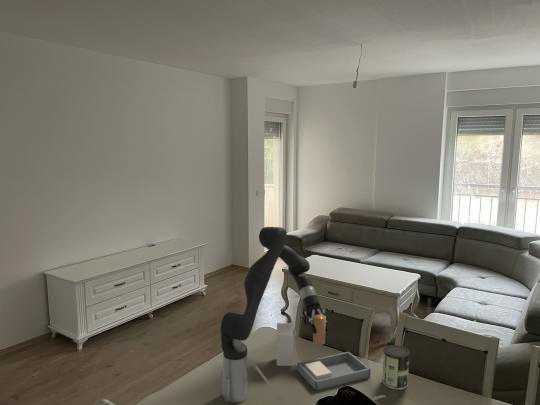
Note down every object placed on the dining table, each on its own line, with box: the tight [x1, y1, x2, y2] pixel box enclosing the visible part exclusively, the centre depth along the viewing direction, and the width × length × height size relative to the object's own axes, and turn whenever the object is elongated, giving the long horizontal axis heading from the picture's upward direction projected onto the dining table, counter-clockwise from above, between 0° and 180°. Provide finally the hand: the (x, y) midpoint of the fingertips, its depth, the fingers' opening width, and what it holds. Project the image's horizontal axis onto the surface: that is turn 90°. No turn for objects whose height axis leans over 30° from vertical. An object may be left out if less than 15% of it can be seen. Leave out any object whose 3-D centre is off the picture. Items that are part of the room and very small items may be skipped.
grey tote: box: [297, 351, 371, 392], centre depth 175 cm, size 26×16×4 cm, turn 113°
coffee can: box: [382, 344, 411, 390], centre depth 170 cm, size 10×10×14 cm
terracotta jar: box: [312, 314, 326, 346], centre depth 186 cm, size 6×6×12 cm
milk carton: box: [276, 322, 294, 367], centre depth 184 cm, size 7×7×19 cm
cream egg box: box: [305, 361, 332, 381], centre depth 172 cm, size 7×10×4 cm
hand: (321, 332), depth 185 cm, fingers closed on terracotta jar, 5 cm apart
